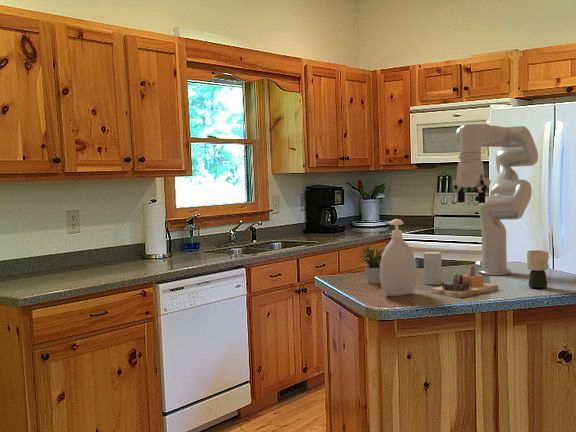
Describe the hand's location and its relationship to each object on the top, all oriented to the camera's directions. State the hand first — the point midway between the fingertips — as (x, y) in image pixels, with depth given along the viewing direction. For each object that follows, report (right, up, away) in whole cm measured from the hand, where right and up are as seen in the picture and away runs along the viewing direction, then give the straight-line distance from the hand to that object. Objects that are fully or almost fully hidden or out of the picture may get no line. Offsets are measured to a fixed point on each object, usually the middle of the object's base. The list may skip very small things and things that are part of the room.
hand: (471, 202), depth 223 cm
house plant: (-37, -32, +10) cm, 49 cm away
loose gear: (-3, -30, -11) cm, 32 cm away
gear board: (-6, -32, -13) cm, 35 cm away
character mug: (+20, -31, -13) cm, 39 cm away
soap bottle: (-31, -33, -14) cm, 47 cm away
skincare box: (-14, -31, +2) cm, 34 cm away
